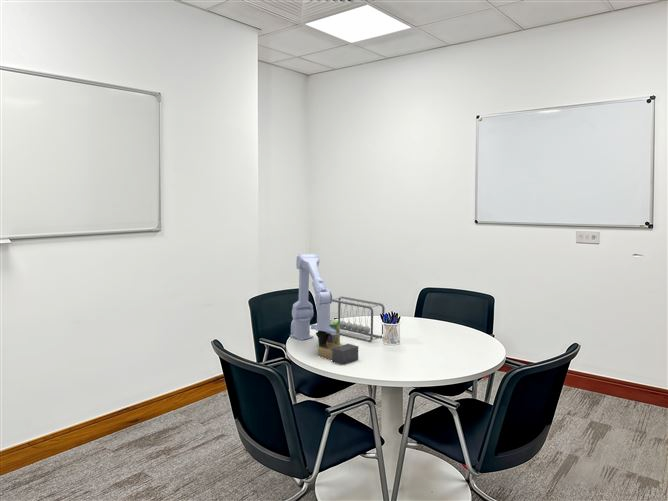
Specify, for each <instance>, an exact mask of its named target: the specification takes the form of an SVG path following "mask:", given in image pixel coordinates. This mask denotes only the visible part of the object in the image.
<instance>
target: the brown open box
mask: <svg viewBox="0 0 668 501" xmlns="http://www.w3.org/2000/svg"><path fill="white" fill-rule="evenodd" d="M338 346H341V344H339V345H337V344H334V343H328V344H324V345H321V346H318V345H317V356H318V357H319V356H320V358H322V357H323V359H325V358H326V360H329V361H331V360H332V348H335V347H338Z"/></svg>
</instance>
